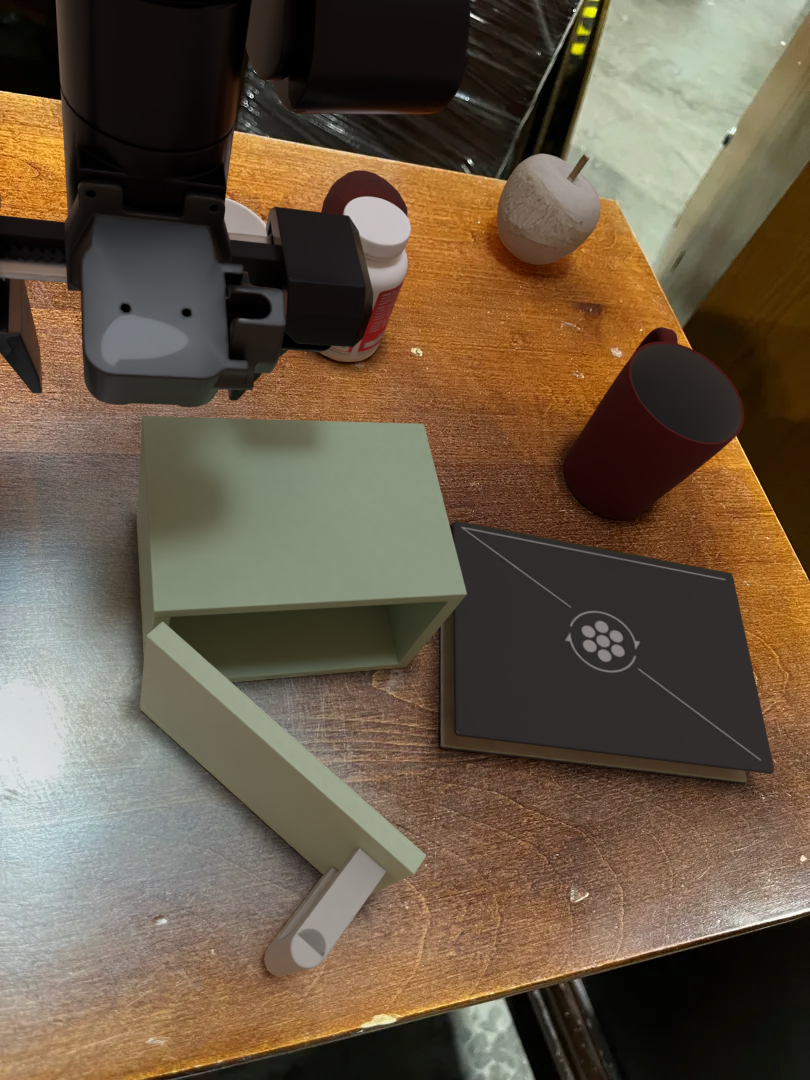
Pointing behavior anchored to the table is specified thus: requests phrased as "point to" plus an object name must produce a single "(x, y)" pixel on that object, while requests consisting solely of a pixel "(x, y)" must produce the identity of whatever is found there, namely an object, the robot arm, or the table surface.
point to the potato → (360, 191)
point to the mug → (652, 428)
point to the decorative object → (547, 209)
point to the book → (598, 660)
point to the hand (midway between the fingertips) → (138, 390)
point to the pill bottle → (377, 267)
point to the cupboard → (293, 543)
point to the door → (277, 795)
